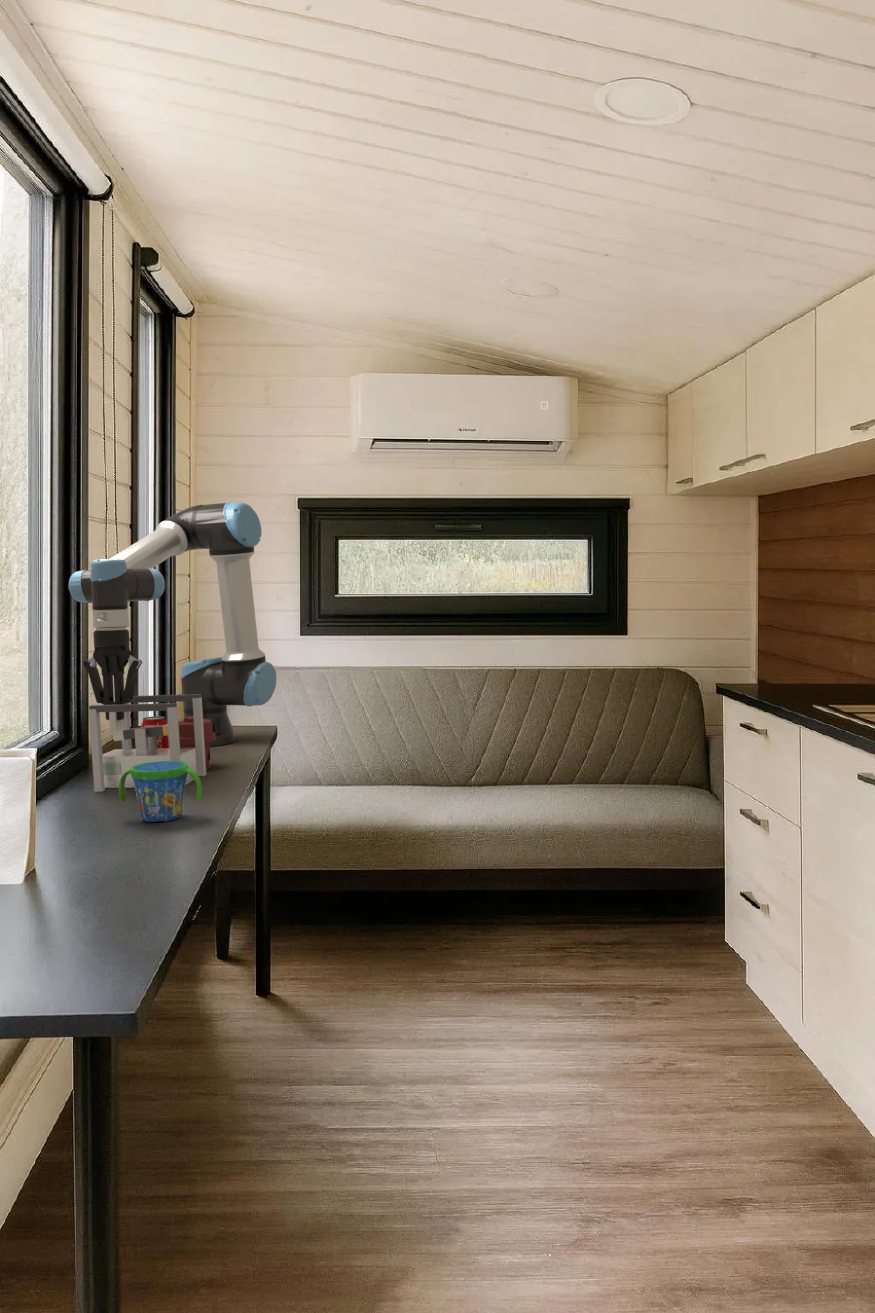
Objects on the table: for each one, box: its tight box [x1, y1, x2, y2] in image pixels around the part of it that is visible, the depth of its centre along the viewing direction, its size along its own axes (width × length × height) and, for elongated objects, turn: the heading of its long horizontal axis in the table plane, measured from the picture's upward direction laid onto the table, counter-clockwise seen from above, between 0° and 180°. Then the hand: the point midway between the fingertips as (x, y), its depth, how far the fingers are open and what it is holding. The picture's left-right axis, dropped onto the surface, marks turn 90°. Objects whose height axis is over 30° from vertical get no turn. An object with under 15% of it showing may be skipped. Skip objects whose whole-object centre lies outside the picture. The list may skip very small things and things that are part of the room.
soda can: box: [140, 715, 170, 748], centre depth 239 cm, size 6×6×12 cm
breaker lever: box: [112, 723, 169, 742], centre depth 219 cm, size 3×14×2 cm, turn 84°
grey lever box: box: [102, 725, 197, 789], centre depth 220 cm, size 9×19×12 cm, turn 84°
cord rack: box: [88, 694, 207, 793], centre depth 220 cm, size 17×19×19 cm
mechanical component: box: [178, 716, 216, 770], centre depth 235 cm, size 12×10×10 cm
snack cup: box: [118, 761, 203, 823], centre depth 187 cm, size 16×10×10 cm
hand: (115, 734), depth 220 cm, fingers closed
